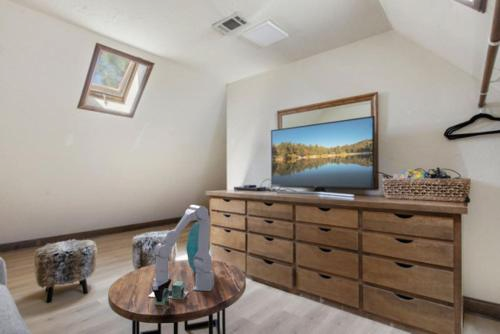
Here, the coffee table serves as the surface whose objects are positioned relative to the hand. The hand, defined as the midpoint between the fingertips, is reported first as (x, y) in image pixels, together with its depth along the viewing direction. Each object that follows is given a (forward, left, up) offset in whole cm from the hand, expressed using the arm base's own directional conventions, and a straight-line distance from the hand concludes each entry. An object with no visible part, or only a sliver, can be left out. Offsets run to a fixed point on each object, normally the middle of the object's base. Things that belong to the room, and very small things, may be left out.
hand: (161, 298), depth 122 cm
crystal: (-5, -38, -2) cm, 39 cm away
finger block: (0, 0, -2) cm, 2 cm away
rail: (0, -7, -2) cm, 8 cm away
